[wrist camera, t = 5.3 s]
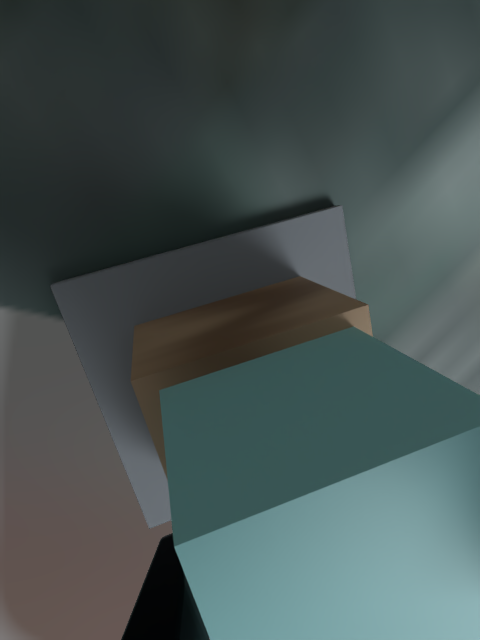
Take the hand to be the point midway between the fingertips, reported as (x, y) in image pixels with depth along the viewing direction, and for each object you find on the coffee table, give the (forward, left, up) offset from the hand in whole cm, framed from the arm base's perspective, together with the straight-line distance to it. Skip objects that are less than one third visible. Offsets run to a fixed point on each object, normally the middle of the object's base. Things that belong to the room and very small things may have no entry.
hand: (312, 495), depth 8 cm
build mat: (0, 0, -7) cm, 7 cm away
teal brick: (0, 0, -2) cm, 2 cm away
